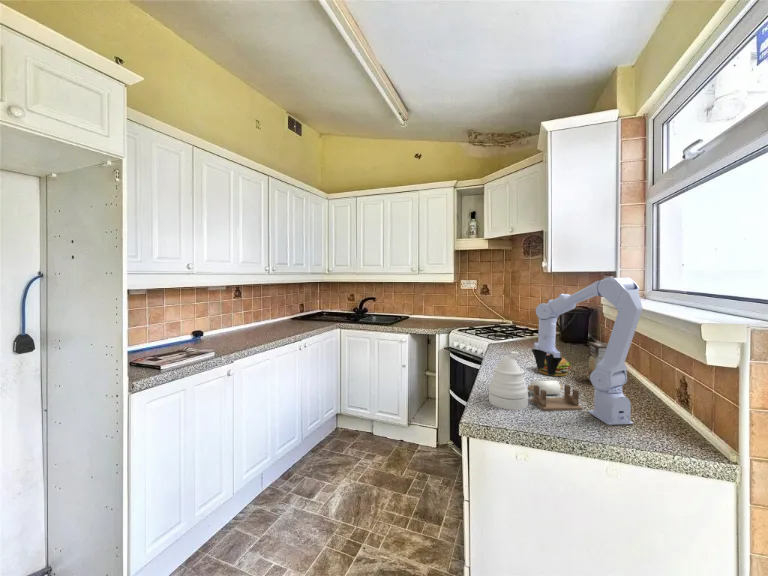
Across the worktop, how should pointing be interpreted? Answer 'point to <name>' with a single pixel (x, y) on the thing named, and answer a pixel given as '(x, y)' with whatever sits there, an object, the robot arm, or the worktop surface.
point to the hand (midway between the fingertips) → (545, 371)
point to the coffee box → (595, 355)
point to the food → (560, 369)
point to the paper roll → (546, 387)
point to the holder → (557, 400)
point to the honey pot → (508, 385)
